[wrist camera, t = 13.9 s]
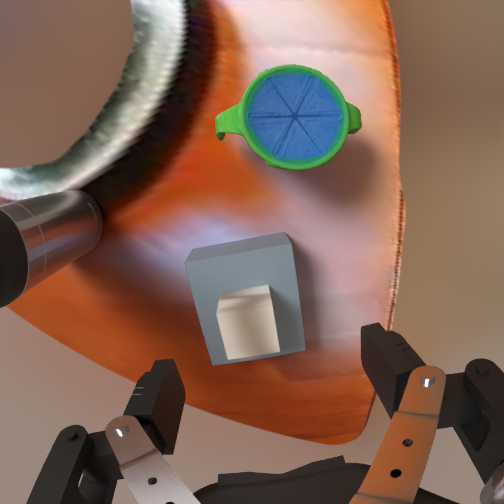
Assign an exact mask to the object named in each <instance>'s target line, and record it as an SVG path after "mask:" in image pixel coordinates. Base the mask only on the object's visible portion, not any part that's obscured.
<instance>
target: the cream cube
mask: <svg viewBox="0 0 504 504" xmlns="http://www.w3.org/2000/svg"><path fill="white" fill-rule="evenodd" d="M216 315H217V319H218V323H219V327H220V331H221V335H222V339H223V343H224V347H225V350H226V354H227V358H228V360H231V359H238V358H245V357H251V356H258V355H264V354H270V353H276V352H280V348H279V342H278V336H277V330H276V324H275V318H274V312H273V306H272V301H271V296H270V291H269V286H268V285H264V286H258V287H252V288H246V289H241V290H235V291H228V292H222V293H220V297H219V303H218V308H217V314H216Z"/></svg>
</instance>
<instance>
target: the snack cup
mask: <svg viewBox="0 0 504 504" xmlns="http://www.w3.org/2000/svg"><path fill="white" fill-rule="evenodd" d="M215 124H216V135H217V138H218V139H219V140H220V141H221V140H223V138H224V136H225V133H235V134H239V135H242V136H243V137H244V138H245V140H246V141H247V143H248V144H249V146H250V147H251V149H252V150H253V151H254V152H255V153H256V154H257V155H258V156H259V157H260V158H262V159H263V160H264V161H265V163H266V164H268V165H270V166H272V167H274V168H282V169H287V170H306V169H311V168H314V167H317V166H319V165H321V166H323V165H325V164H327V163H328V162H330V161H331V158H332V157H333V156H334V155H336V154H337V152H338V151H339V150H340V148H341V147H342V145H343V143H344V141H345V139H346V137H347V133H348V134H355V133H356V132H357V131H358V130H360V129H361V127H362V122H361V113H360V110H359V109H358V108H357V107H355V106H354V105H352V104H350V103H348V102H346V101H345V99H344V97H343V95H342V93H341V91H340V90H339V89H338V87H337V86H336V85H335V84H334V82H333V81H331V80H330V79H329V78H328V77H327V76H325V75H323V74H322V73H321V72H319V71H317V70H315V69H312V68H309V67H306V66H301V65H295V64H294V65H282V66H277V67H274V68H271V69H269V70H268V69H267V70H265V71H263V72H261V73H259V74H258V76H257V77H256V78H255V79H254V80H253V81H252V82H251V83H250V84H249V86H248V88H247V89H246V91H245V93H244V95H243V98H242V100H241V102H240V103H239V104H237V105H236V106H233V107H231V108H229V109H227V110H226V111H223V112H222V113H220V114H219V115H218V116H216V118H215Z"/></svg>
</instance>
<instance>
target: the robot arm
mask: <svg viewBox="0 0 504 504" xmlns="http://www.w3.org/2000/svg"><path fill="white" fill-rule="evenodd" d="M102 231H103V218H102V213H101V210H100V208H99V206H98V204H97V202H96V201H95V200H94V199H93V197H91V196H90V195H89V194H88V193H86V192H83V191H80V190H70V191H64V192H59V193H53V194H48V195H43V196H38V197H33V198H29V199H24V200H20V201H15V202H11V203H7V204H3V205H0V308H1V307H4V306H6V305H8V304H9V303H11V302H12V301H14V300H15V299H17V298H18V297H19V296H21V295H22V294H24V293H25V292H27V291H28V290H30V289H31V288H33V287H34V286H35V285H37V284H38V283H40V282H41V281H43V280H44V279H46V278H48V277H49V276H51V275H52V274H54V273H55V272H57V271H59V270H60V269H62V268H63V267H65V266H66V265H68V264H70V263H71V262H73V261H75V260H76V259H78V258H80V257H81V256H83V255H85V254H86V253H88V252H90V251H91V250H92V249H93V248H95V247H96V245H97V244H98V242H99V240H100V238H101V236H102ZM361 361H362V365H363V368H364V370H365V372H366V374H367V376H368V378H369V379H370V381H371V383H372V385H373V387H374V389H375V390H376V392H377V394H378V396H379V398H380V400H381V402H382V403H383V405H384V407H385V409H386V411H387V413H388V415H389V417H390V419H391V422H390V425H389V427H388V430H387V432H386V434H385V437H384V439H383V441H382V443H381V446H380V448H379V450H378V452H377V455H376V457H375V459H374V461H373V463H372V465H366V464H360V463H345V460H344V457H343V456H338V457H334V458H330V459H326V460H320V461H316V462H312V463H310V464H307V465H304V466H302V467H299V468H297V469H294V470H291V471H289V472H286V473H283V474H269V473H255V472H241V473H230V474H218V482H217V483H214V484H211V485H208V486H206V487H203V488H201V489H199V490H198V491H196V492H194V493H193V494H192V493H191V492H190V490H189V489H188V488H187V487H186V486H185V484H184V483H183V482H182V481H181V479H180V478H179V477H178V475H177V474H176V473H175V472H174V470H173V469H172V468H171V466H170V465H169V464H168V463H167V461H166V460H165V458H164V457H163V454H164V455H165V454H166V455H172V454H173V452H174V448H175V443H176V439H177V433H178V429H179V424H180V420H181V416H182V411H183V407H184V403H185V389H184V385H183V383H182V380H181V377H180V375H179V372H178V369H177V367H176V364H175V362H174V360H173V359H164V360H155V362H154V364H153V366H152V369H151V371H150V372H146V373H145V374H144V375H143V376H142V377H141V378H139V380H138V382H137V384H136V386H135V389H134V391H133V393H132V396H131V398H130V400H129V402H128V404H127V407H126V409H125V411H124V414H123V416H120V417H117V418H115V419H113V420H111V421H110V422H109V423H108V424H107V426H106V428H105V431H100V432H95V433H90V434H88V433H87V431H86V429H85V428H84V427H82V426H80V425H72V426H69V427H66V428H65V429H63V430H62V431H61V432H60V433H59V435H58V436H57V439H56V441H55V443H54V444H53V446H52V449H51V451H50V453H49V455H48V457H47V459H46V461H45V463H44V465H43V467H42V470H41V472H40V474H39V476H38V478H37V480H36V483H35V485H34V487H33V489H32V492H31V494H30V496H29V499H28V501H27V504H112V500H113V496H114V492H115V488H116V484H117V480H119V479H125V480H126V482H127V484H128V486H129V487H130V489H131V491H132V493H133V495H134V496H135V498H136V500H137V501H138V503H139V504H459V503H457V502H454V501H451V500H449V499H446V498H443V497H441V496H438V495H436V494H434V493H431V492H429V491H426V490H424V489H422V488H420V487H419V485H420V482H421V479H422V476H423V473H424V470H425V467H426V464H427V461H428V458H429V454H430V451H431V447H432V444H433V440H434V437H435V433H436V429H441V428H448V427H453V428H454V430H455V432H456V433H457V435H458V437H459V438H460V440H461V442H462V444H463V446H464V447H465V449H466V451H467V453H468V454H469V456H470V458H471V460H472V462H473V464H474V465H475V467H476V469H477V471H478V473H479V475H480V477H481V478H482V480H483V482H484V484H485V486H484V487H483V489H482V491H481V494H480V502H481V504H504V373H503V371H502V370H501V369H500V368H499V367H498V366H497V365H496V364H495V363H494V362H492V361H490V360H488V359H475V360H472V361H471V362H469V363H468V364H467V366H466V368H465V372H463V373H455V374H445V373H444V371H443V370H442V369H440V368H438V367H435V366H427V365H426V364H425V363H424V362H423V361H422V359H421V358H420V357H419V356H418V354H417V353H416V352H415V351H414V350H413V349H412V348H411V346H410V345H409V344H408V343H407V342H406V340H405V339H404V338H403V337H402V336H401V335H400V334H398V333H396V332H394V331H392V330H391V331H388V332H386V331H385V329H384V328H383V327H382V326H381V324H380V323H378V322H377V323H374V324H370V325H366V326H362V327H361ZM82 474H83V477H82V480H81V483H80V486H79V487H78V484H79V480H80V477H81V475H82Z"/></svg>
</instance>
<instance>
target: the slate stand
mask: <svg viewBox="0 0 504 504" xmlns="http://www.w3.org/2000/svg"><path fill="white" fill-rule="evenodd" d="M184 264H185V268H186V272H187V276H188V280H189V284H190V288H191V292H192V295H193V299H194V303H195V307H196V310H197V314H198V318H199V321H200V325H201V328H202V332H203V335H204V339H205V342H206V345H207V349H208V352H209V356H210V359H211V362H212V365H221V364H229V363H236V362H243V361H249V360H256V359H262V358H268V357H273V356H279V355H285V354H290V353H295V352H300V351H305V350H306V347H305V338H304V330H303V322H302V314H301V307H300V299H299V292H298V284H297V277H296V270H295V263H294V256H293V250H292V243H291V242H290V240H289V239H288V237H287V235H286V234H285V232H284V233H278V234H273V235H267V236H262V237H256V238H251V239H245V240H240V241H234V242H229V243H223V244H218V245H212V246H207V247H202V248H196V249H192V251H191V253H190V254H189V256H188V257H187V259H186V261H185V262H184ZM264 285H268V286H269V291H270V296H271V301H272V306H273V312H274V318H275V324H276V330H277V336H278V342H279V348H280V352H276V353H270V354H264V355H258V356H251V357H245V358H238V359H231V360H228V358H227V354H226V350H225V347H224V343H223V339H222V335H221V331H220V327H219V323H218V319H217V315H216V314H217V308H218V303H219V297H220V293H222V292H228V291H235V290H241V289H246V288H252V287H258V286H264Z"/></svg>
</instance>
